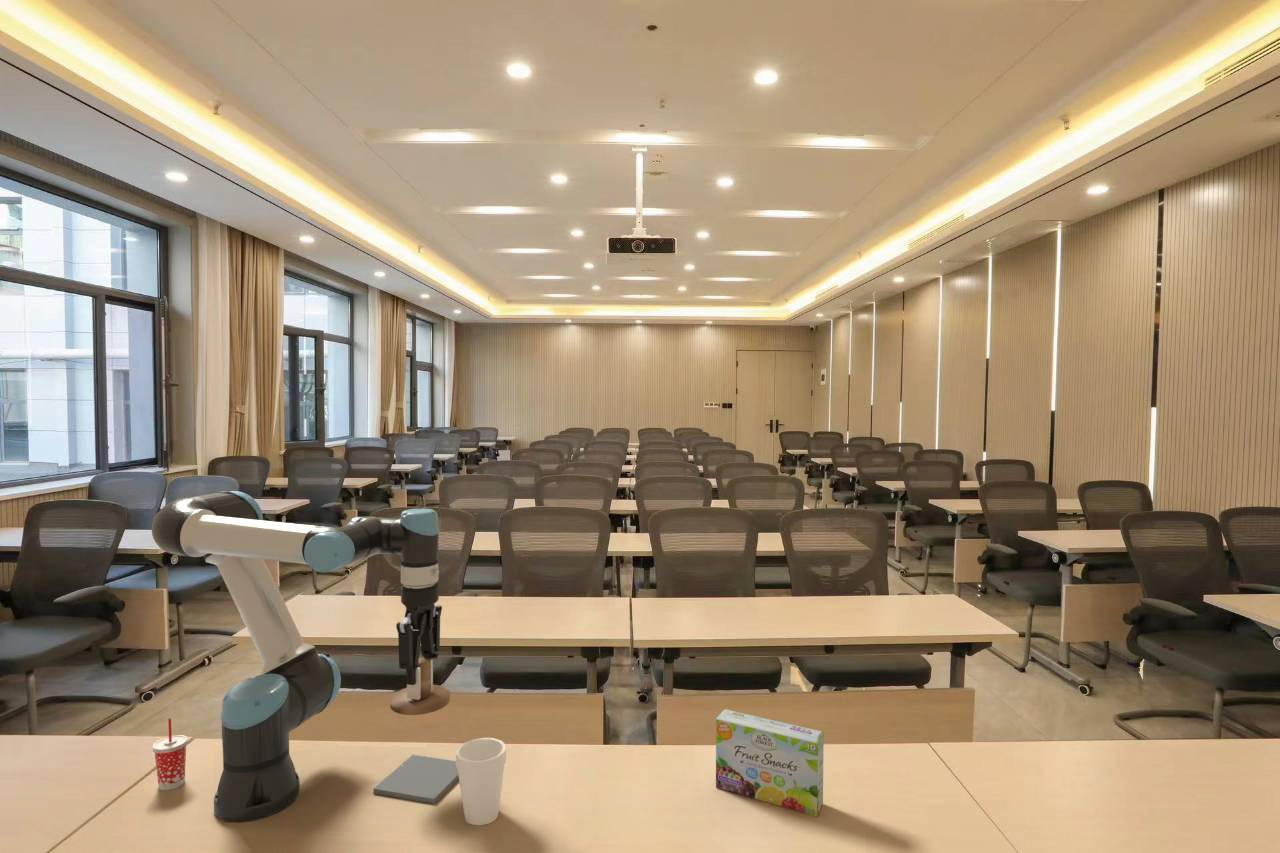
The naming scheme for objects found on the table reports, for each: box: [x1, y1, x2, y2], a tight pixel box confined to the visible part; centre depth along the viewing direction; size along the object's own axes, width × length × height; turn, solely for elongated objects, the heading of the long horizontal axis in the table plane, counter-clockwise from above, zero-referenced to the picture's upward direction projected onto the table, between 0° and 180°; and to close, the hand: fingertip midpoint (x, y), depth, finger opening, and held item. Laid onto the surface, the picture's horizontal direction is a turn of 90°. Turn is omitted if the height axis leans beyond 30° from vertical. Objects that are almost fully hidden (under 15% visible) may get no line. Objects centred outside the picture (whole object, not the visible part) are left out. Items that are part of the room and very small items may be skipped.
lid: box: [389, 657, 451, 716], centre depth 146 cm, size 12×12×9 cm
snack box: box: [715, 708, 825, 817], centre depth 141 cm, size 21×6×15 cm, turn 62°
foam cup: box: [455, 737, 507, 826], centre depth 134 cm, size 10×9×13 cm
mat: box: [372, 754, 459, 804], centre depth 147 cm, size 14×14×1 cm
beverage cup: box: [152, 717, 189, 791], centre depth 145 cm, size 6×6×14 cm
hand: (420, 693), depth 146 cm, fingers closed on lid, 4 cm apart
